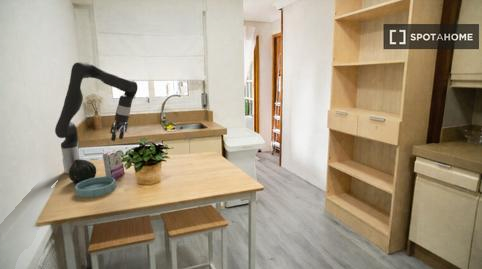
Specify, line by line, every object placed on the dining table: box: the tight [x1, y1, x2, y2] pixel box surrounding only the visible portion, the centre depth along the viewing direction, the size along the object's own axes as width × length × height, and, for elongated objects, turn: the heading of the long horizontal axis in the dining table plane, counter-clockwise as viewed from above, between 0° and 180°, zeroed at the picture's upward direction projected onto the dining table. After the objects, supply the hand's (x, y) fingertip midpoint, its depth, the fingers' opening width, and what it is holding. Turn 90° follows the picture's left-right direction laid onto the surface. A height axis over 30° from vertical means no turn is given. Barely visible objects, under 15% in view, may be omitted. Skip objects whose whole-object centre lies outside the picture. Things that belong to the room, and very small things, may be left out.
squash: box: [68, 158, 97, 184], centre depth 177 cm, size 14×15×15 cm
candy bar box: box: [102, 149, 125, 180], centre depth 182 cm, size 11×5×16 cm, turn 161°
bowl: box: [74, 176, 117, 199], centre depth 164 cm, size 20×20×4 cm
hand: (116, 139), depth 174 cm, fingers open, 8 cm apart
